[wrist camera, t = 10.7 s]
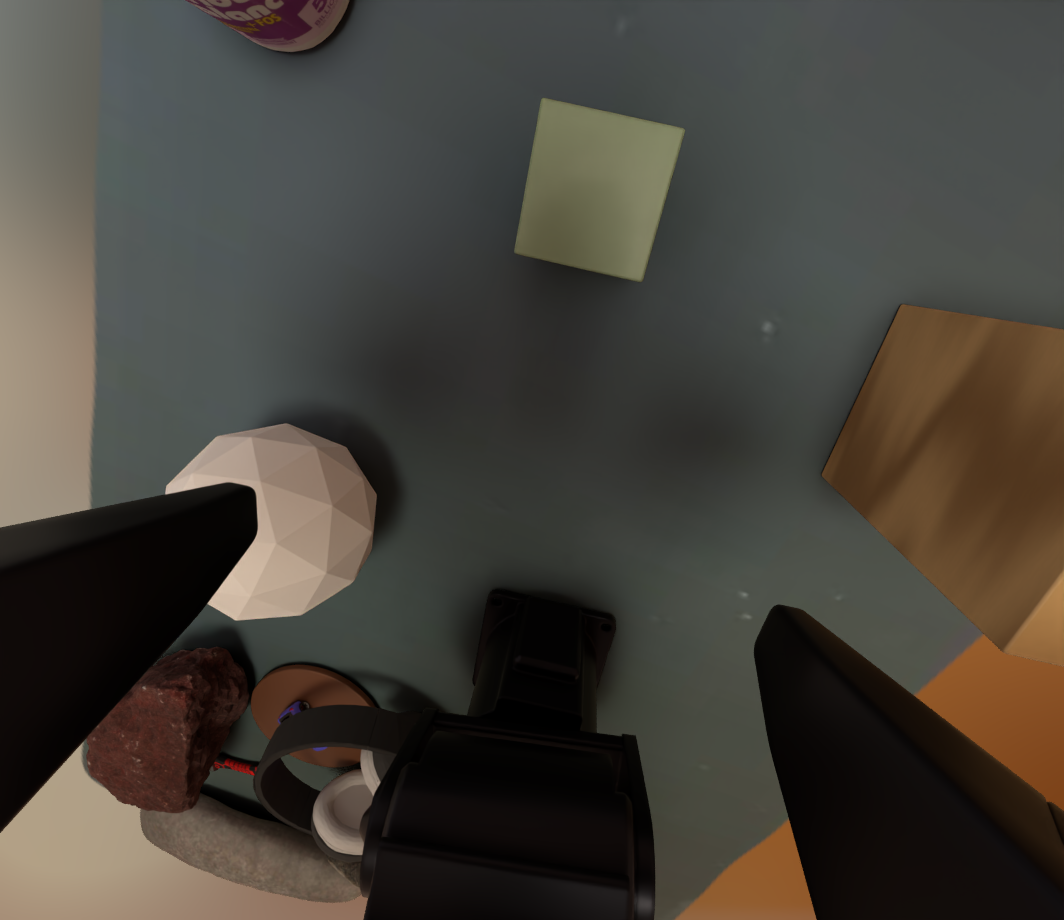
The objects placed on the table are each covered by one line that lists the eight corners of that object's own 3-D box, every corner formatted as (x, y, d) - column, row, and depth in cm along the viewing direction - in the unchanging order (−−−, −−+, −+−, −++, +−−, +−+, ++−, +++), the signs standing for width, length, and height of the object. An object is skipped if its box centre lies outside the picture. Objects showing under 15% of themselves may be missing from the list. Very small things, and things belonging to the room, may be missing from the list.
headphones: (524, 925, 31) (213, 834, 26) (525, 845, 35) (254, 751, 30) (625, 864, 28) (285, 741, 22) (614, 782, 31) (322, 659, 26)
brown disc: (328, 777, 32) (316, 801, 30) (230, 702, 30) (213, 724, 29) (408, 728, 29) (399, 752, 28) (306, 643, 27) (290, 664, 26)
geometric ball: (371, 493, 27) (319, 648, 23) (208, 434, 23) (114, 605, 19) (428, 442, 21) (372, 637, 17) (223, 353, 17) (94, 573, 13)
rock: (96, 726, 21) (248, 814, 24) (204, 610, 26) (320, 692, 29) (34, 761, 26) (164, 830, 29) (134, 659, 32) (237, 725, 34)
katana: (265, 754, 32) (259, 764, 31) (271, 771, 33) (264, 781, 32) (92, 732, 33) (82, 741, 33) (101, 749, 34) (92, 758, 33)
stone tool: (364, 896, 31) (348, 939, 33) (384, 839, 35) (368, 881, 36) (114, 813, 31) (110, 861, 32) (158, 763, 34) (153, 809, 36)
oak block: (989, 511, 20) (1318, 724, 11) (820, 475, 20) (1002, 654, 11) (1098, 342, 17) (1659, 439, 8) (900, 303, 18) (1230, 355, 8)
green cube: (632, 278, 18) (642, 283, 15) (529, 254, 18) (513, 253, 15) (666, 156, 17) (686, 128, 13) (552, 131, 17) (541, 96, 13)
